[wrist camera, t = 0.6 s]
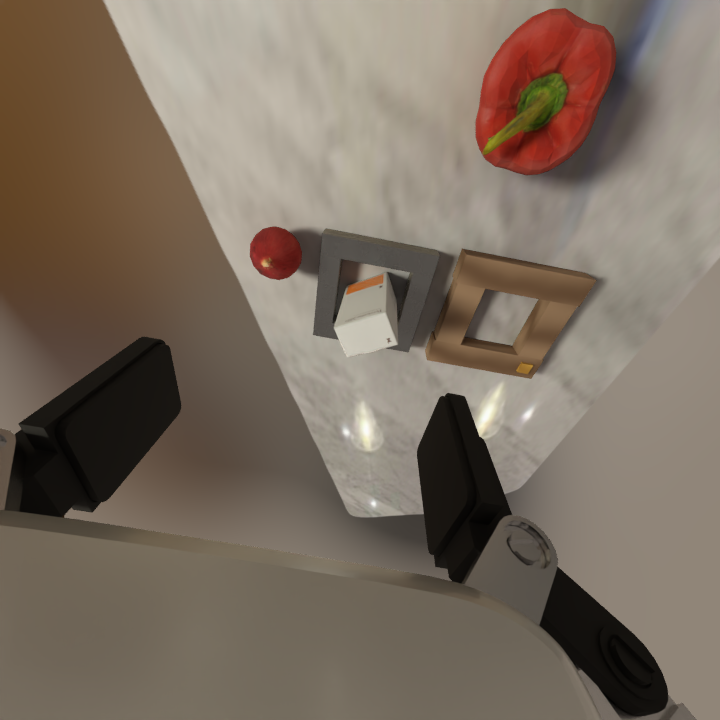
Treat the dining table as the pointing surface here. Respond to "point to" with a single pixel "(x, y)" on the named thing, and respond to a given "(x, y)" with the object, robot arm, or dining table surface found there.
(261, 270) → the onion
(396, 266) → the gray square frame
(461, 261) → the frame
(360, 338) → the skincare box
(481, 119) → the vegetable
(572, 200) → the dining table surface
